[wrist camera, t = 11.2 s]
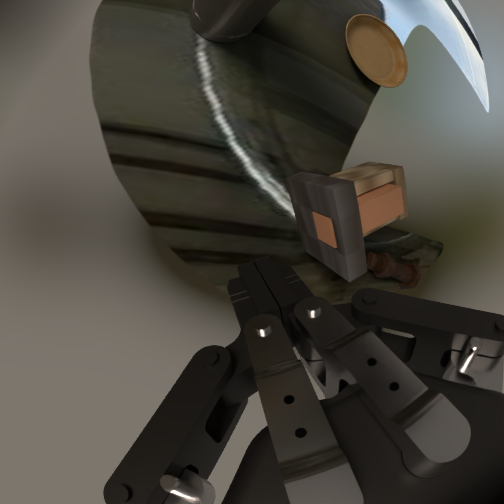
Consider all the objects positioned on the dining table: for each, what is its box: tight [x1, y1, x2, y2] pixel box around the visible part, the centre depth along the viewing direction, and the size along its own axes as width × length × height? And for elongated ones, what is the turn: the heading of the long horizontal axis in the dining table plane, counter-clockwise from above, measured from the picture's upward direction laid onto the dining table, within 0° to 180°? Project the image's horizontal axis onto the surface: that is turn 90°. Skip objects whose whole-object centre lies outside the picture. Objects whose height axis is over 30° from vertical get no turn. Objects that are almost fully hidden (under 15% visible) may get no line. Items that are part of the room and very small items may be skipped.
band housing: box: [285, 162, 408, 282], centre depth 37 cm, size 16×12×12 cm
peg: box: [312, 183, 404, 248], centre depth 35 cm, size 13×4×4 cm, turn 109°
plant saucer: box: [345, 14, 408, 88], centre depth 34 cm, size 15×15×3 cm
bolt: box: [366, 252, 421, 288], centre depth 49 cm, size 6×5×15 cm
